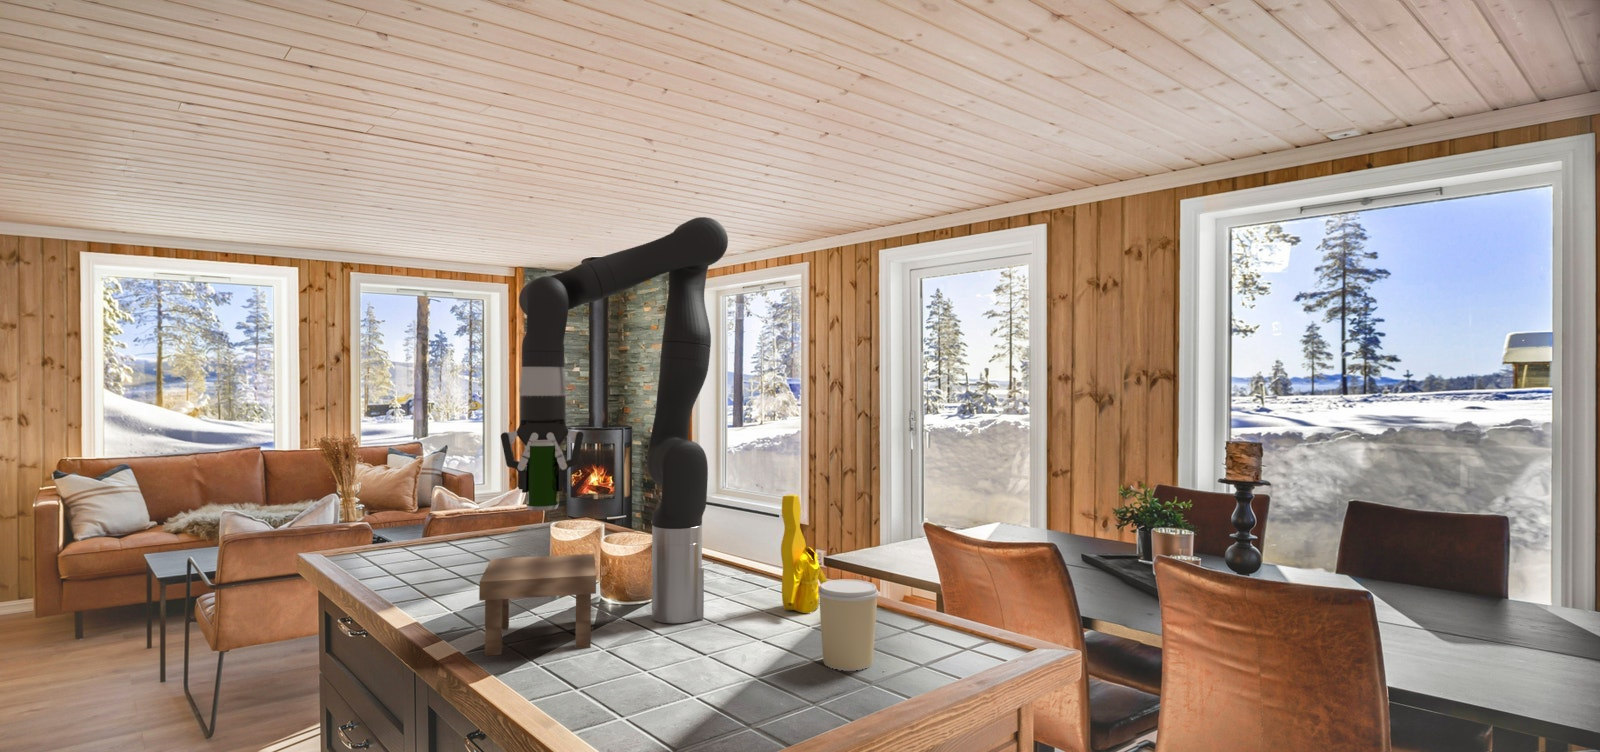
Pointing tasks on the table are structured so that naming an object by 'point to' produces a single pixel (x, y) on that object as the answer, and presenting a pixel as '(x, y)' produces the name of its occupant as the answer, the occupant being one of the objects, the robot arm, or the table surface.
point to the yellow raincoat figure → (798, 562)
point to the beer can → (542, 476)
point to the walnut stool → (536, 591)
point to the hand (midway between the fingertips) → (542, 491)
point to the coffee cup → (848, 623)
